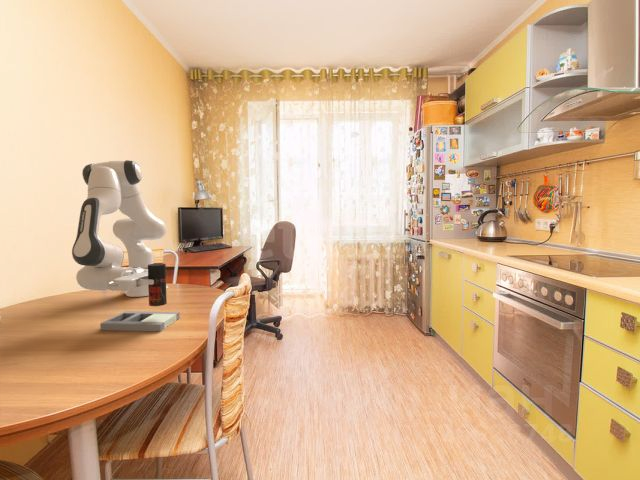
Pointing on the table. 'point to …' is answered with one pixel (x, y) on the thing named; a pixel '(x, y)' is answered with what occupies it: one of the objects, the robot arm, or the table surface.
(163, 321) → the board
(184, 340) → the table surface
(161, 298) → the deodorant
